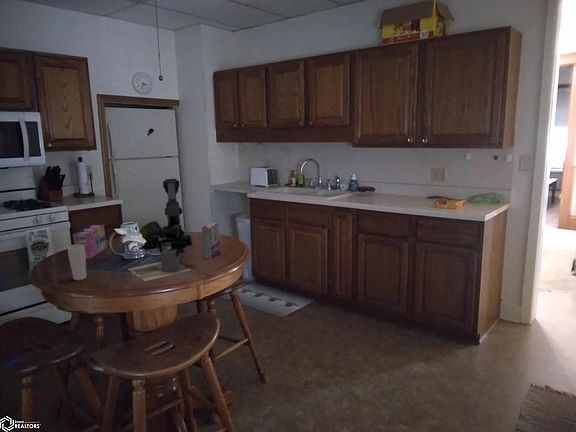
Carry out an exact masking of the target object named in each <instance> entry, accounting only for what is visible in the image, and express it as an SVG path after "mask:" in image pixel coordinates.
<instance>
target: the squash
mask: <svg viewBox="0 0 576 432" xmlns="http://www.w3.org/2000/svg"><path fill="white" fill-rule="evenodd" d="M139 231H140V233H141V234H142V236H143V238H144V239H145V240H146V241H147V242H146V243H145V245H144V246H145V247H144V248H149V247H153V246H152V244H151V242H150V237H151V236H159V237H160V238H161V239H165V238H166V237H164V234H163V227H162V225H160V224H159V223H158V221H156V220H153V221H150V222H149V223H146V224H145V225H143V226H142V227H140V229H139Z"/></svg>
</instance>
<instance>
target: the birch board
mask: <svg viewBox="0 0 576 432" xmlns="http://www.w3.org/2000/svg"><path fill="white" fill-rule="evenodd" d="M127 271H129V272H131V273H132V274H133V275H135V276H137V277H138V278H140V280H141V279H142V280H143V281H144V282H147V281H152V280H157V279H161V278H164V277H167V276H173V275H176V274H180V273H185V272H189V271H192V269H191V268H189V267H188V266H186V265H184V264H181V263H180V268H179V269H178V270H177V272H162V265H161V261H158V262H153V263H149V264H144V265H141V266H136V267H131V268H128V269H127Z"/></svg>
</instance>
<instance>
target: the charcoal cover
mask: <svg viewBox="0 0 576 432" xmlns="http://www.w3.org/2000/svg"><path fill="white" fill-rule="evenodd" d="M176 253H177V249H171V248H164V250H163V251H162V252H161V253H160V252H159V254H160V262H161V265H162V272H177V270H178V269H179V268H180V264H181V263H180V255H179V256H178V257H176Z"/></svg>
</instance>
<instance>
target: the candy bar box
mask: <svg viewBox="0 0 576 432" xmlns="http://www.w3.org/2000/svg"><path fill="white" fill-rule="evenodd" d="M201 233H202V247H203V258H204V259H205V258H206V259H214V257H217V256H218V255H219V254H221V247H220V246H221V245H220V244H221V243H220V228H219V222H209V223H207V224H206V225H205V224H204V226H202V227H201Z"/></svg>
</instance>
